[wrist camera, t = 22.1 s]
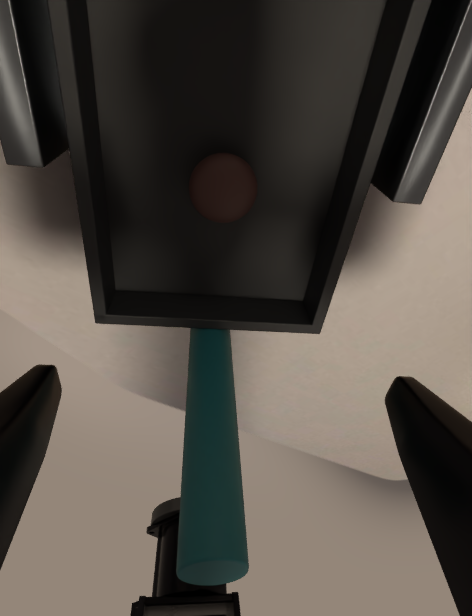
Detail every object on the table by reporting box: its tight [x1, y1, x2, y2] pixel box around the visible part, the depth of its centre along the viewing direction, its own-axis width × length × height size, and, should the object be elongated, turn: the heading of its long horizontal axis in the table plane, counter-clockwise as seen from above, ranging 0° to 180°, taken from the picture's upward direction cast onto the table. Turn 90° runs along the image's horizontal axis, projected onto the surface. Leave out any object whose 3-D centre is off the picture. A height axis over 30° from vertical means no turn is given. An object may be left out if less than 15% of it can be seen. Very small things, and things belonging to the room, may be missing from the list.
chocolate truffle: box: [189, 153, 257, 223], centre depth 15 cm, size 3×3×2 cm
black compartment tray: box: [47, 0, 432, 585], centre depth 11 cm, size 17×12×13 cm
